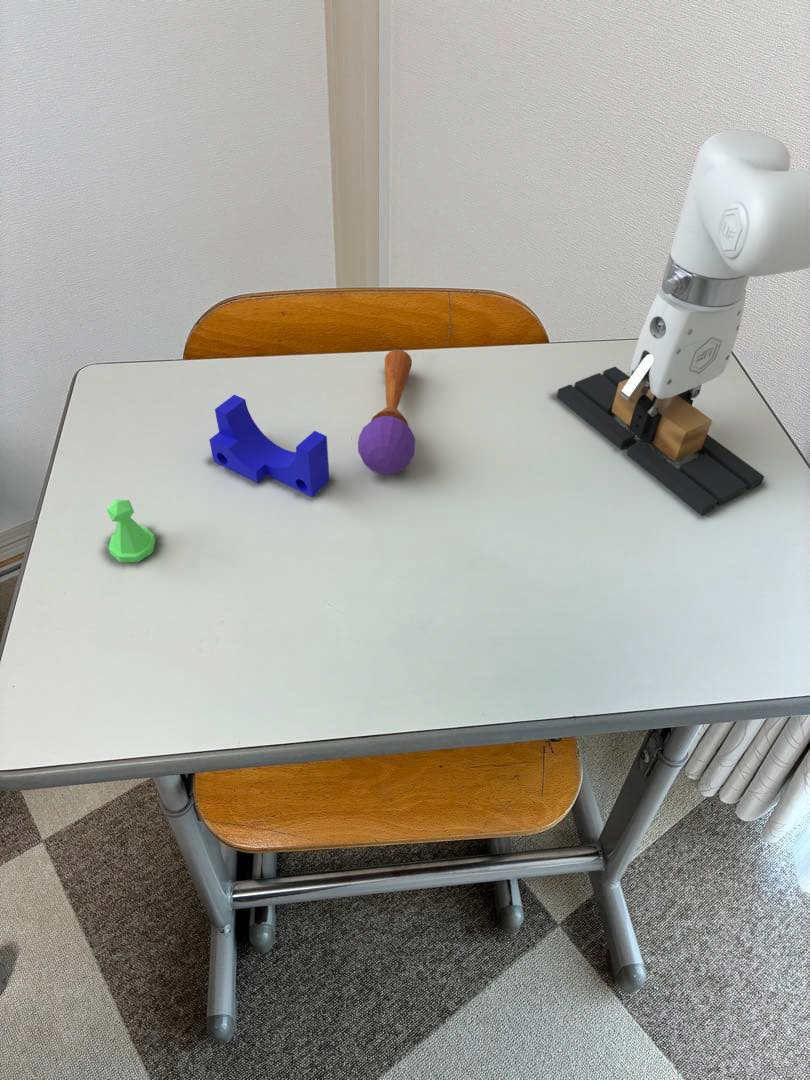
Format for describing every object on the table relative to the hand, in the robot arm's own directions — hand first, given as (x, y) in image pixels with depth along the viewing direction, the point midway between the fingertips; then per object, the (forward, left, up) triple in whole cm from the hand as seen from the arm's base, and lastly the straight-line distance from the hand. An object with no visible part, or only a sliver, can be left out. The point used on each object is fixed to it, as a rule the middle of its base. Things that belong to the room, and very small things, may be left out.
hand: (656, 428), depth 88 cm
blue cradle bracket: (+17, +39, -2) cm, 43 cm away
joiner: (0, 0, 0) cm, 0 cm away
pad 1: (+6, 0, -1) cm, 6 cm away
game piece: (+14, +55, -2) cm, 57 cm away
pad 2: (-6, 0, -1) cm, 6 cm away
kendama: (+17, +24, -2) cm, 29 cm away
